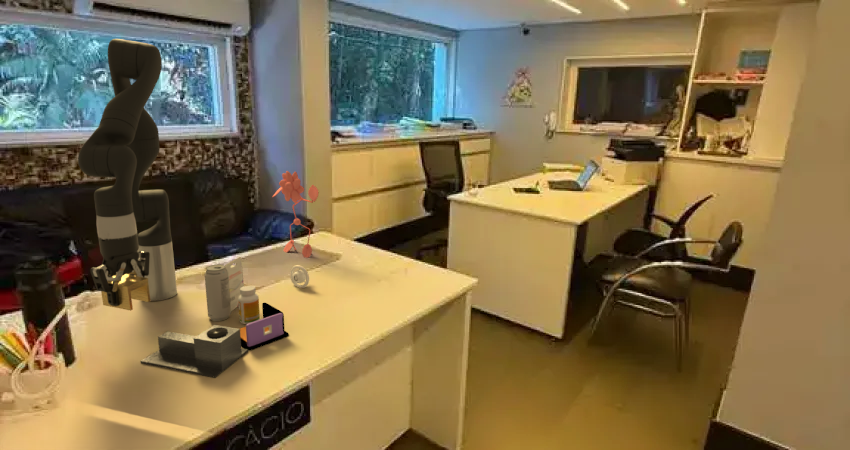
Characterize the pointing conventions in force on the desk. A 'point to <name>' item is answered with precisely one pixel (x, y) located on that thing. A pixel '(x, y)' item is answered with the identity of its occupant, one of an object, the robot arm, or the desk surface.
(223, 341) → the grey knob base
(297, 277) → the ring around a ball
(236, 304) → the ink cartridge box
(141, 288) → the brass open box
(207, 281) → the energy drink can
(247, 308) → the supplement bottle
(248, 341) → the toy room diorama
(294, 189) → the flower sculpture
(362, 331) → the desk surface
